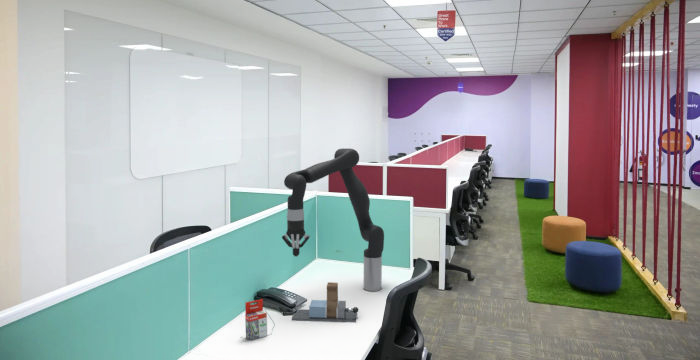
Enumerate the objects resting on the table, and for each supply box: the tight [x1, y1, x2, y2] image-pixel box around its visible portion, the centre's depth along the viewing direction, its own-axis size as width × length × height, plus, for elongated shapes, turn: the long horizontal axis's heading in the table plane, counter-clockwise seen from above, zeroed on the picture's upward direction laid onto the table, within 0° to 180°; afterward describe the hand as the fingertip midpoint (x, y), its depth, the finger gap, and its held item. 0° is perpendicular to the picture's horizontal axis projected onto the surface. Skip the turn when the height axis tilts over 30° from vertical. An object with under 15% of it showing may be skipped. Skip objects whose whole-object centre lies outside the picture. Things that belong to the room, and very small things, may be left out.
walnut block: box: [326, 281, 339, 317], centre depth 220 cm, size 4×4×14 cm
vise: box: [291, 300, 359, 323], centre depth 221 cm, size 10×29×6 cm, turn 86°
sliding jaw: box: [308, 299, 327, 318], centre depth 221 cm, size 8×8×5 cm
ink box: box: [244, 298, 268, 341], centre depth 200 cm, size 4×8×15 cm, turn 124°
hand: (296, 255), depth 227 cm, fingers closed
